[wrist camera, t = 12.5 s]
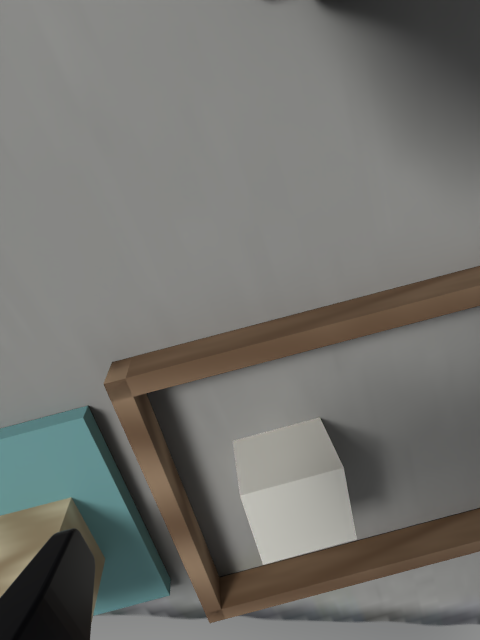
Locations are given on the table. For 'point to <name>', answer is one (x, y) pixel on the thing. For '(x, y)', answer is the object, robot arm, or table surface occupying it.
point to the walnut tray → (261, 346)
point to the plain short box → (293, 490)
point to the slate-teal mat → (83, 499)
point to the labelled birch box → (41, 538)
